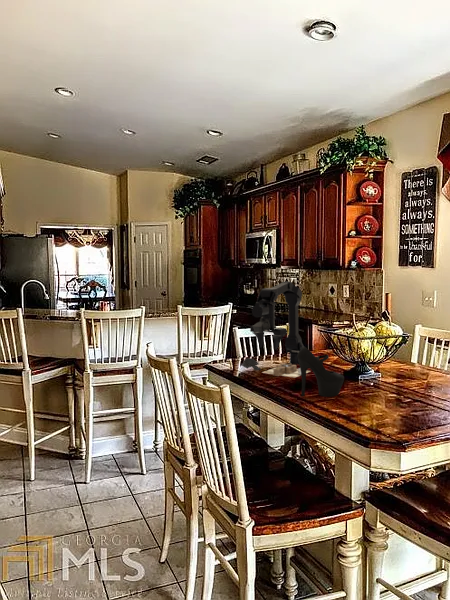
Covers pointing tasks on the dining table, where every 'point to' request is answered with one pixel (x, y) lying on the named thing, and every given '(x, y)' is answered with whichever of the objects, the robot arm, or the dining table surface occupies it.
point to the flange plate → (284, 369)
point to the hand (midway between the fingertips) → (268, 348)
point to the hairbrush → (250, 363)
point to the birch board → (285, 374)
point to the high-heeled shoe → (319, 373)
